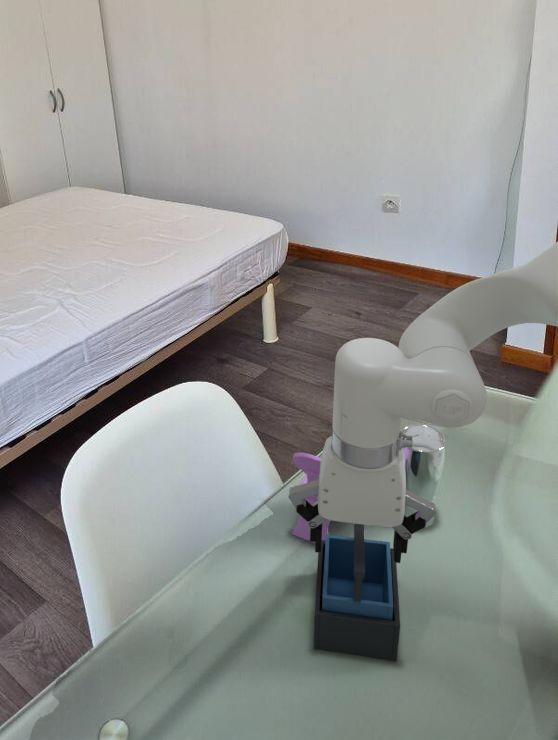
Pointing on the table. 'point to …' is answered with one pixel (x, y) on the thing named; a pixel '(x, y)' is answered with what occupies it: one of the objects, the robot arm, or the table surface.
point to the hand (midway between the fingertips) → (357, 549)
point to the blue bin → (357, 576)
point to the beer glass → (424, 462)
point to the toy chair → (312, 470)
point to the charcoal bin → (356, 625)
